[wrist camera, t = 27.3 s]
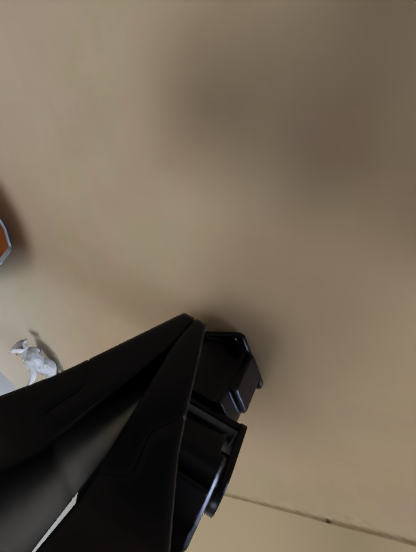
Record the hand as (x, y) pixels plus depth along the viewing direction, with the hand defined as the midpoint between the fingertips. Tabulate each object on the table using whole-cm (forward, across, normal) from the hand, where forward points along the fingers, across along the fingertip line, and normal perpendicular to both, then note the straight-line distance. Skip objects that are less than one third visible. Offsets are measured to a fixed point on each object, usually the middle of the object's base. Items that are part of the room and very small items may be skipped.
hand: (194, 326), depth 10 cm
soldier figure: (+12, +26, +39) cm, 49 cm away
